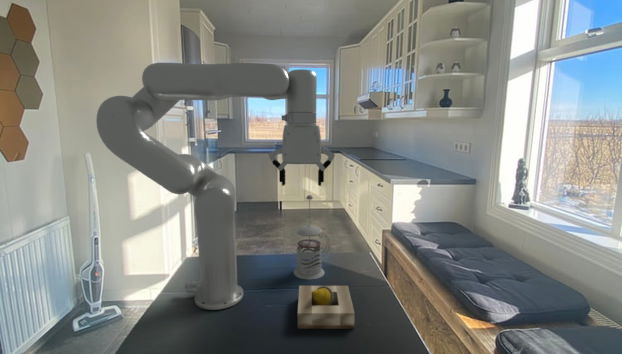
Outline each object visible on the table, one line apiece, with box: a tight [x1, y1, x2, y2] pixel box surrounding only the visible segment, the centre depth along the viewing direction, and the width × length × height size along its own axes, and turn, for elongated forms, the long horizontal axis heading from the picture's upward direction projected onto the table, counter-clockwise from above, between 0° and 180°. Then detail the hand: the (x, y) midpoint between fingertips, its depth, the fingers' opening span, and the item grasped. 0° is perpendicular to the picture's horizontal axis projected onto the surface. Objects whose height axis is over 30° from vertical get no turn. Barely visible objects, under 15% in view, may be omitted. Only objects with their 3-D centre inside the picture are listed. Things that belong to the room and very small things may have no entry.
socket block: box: [297, 285, 356, 330], centre depth 82 cm, size 13×13×4 cm
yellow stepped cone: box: [312, 287, 334, 306], centre depth 81 cm, size 5×5×10 cm
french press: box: [293, 194, 331, 280], centre depth 103 cm, size 10×12×25 cm
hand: (301, 184), depth 88 cm, fingers open, 9 cm apart
